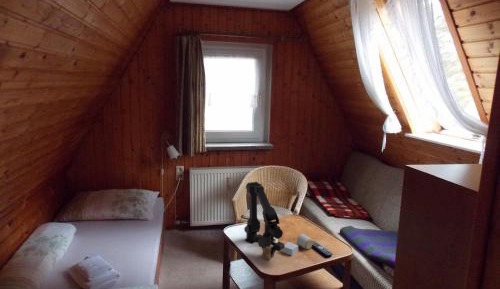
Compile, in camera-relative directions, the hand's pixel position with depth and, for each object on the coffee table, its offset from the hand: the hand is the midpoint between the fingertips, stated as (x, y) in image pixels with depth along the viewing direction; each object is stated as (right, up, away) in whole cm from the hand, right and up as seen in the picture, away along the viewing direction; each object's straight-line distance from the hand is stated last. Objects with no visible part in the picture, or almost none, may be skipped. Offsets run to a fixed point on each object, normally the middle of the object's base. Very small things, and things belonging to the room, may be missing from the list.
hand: (268, 255), depth 200 cm
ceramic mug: (+25, +1, +15) cm, 29 cm away
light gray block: (+14, 0, +7) cm, 16 cm away
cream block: (+4, +2, +15) cm, 15 cm away
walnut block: (0, -1, 0) cm, 1 cm away
